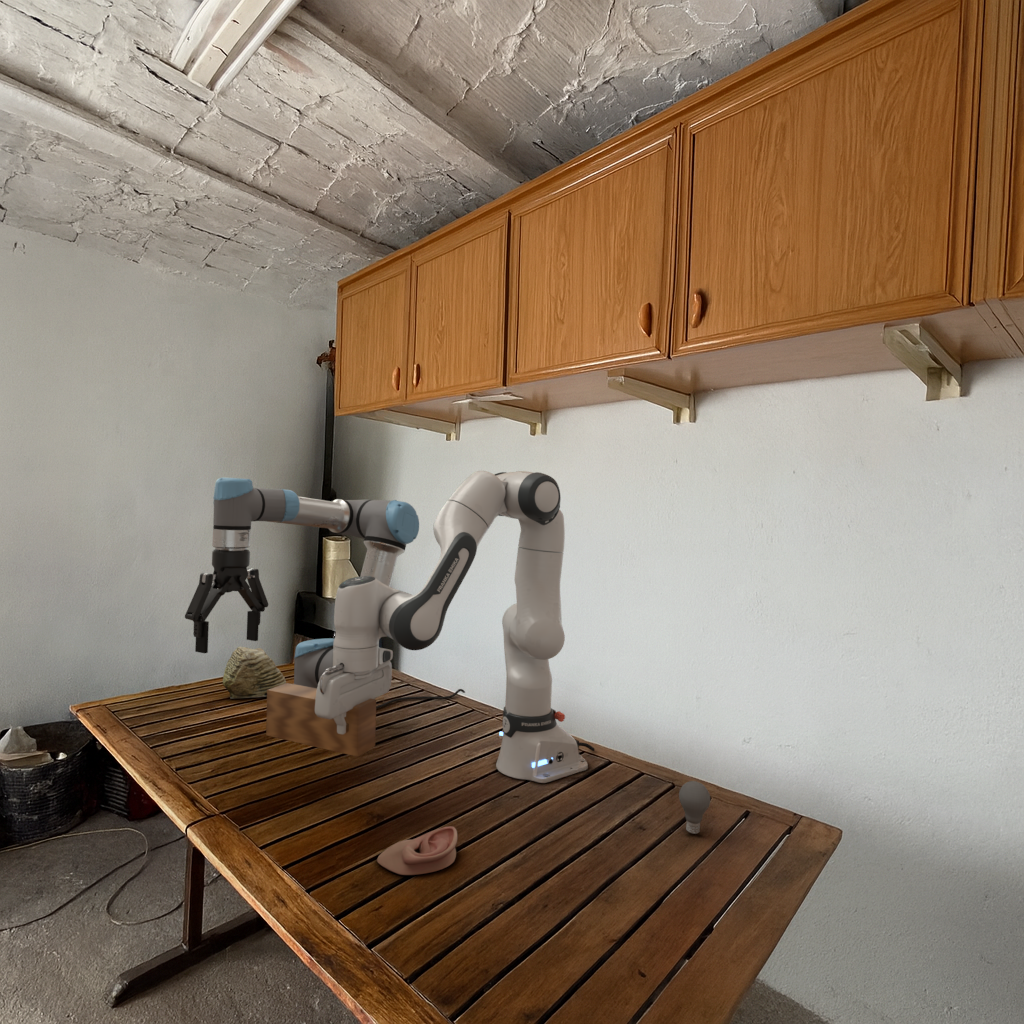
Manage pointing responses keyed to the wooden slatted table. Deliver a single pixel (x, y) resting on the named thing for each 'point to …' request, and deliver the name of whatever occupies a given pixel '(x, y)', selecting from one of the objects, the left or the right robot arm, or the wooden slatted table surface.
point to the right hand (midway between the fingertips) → (354, 727)
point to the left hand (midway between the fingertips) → (227, 646)
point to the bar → (318, 721)
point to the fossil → (251, 673)
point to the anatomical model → (421, 853)
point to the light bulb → (694, 804)
